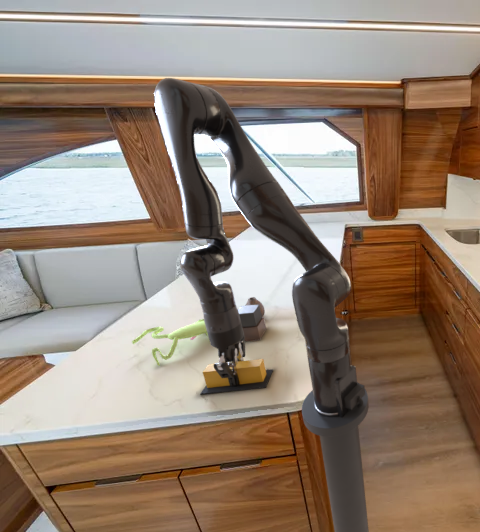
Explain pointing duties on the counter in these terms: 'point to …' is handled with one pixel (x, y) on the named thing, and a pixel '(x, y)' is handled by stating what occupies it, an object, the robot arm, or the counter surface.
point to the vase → (255, 302)
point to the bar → (245, 369)
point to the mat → (239, 386)
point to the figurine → (175, 336)
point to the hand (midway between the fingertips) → (237, 380)
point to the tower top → (250, 315)
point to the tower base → (255, 331)
